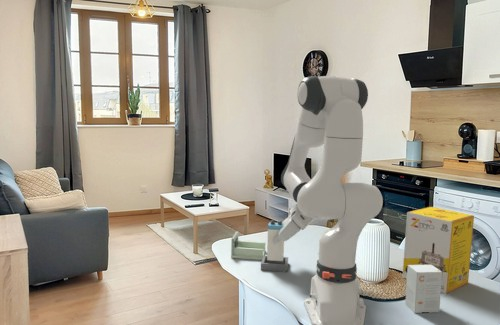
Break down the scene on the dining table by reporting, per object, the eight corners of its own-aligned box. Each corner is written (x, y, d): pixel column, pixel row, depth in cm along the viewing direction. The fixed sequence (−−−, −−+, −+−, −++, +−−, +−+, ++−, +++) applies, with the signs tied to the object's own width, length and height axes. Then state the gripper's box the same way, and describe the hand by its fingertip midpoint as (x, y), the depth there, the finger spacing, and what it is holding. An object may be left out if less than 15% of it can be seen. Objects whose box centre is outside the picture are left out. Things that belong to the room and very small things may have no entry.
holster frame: (287, 271, 153) (287, 265, 153) (260, 269, 155) (260, 263, 154) (288, 263, 162) (288, 257, 162) (263, 261, 164) (263, 255, 163)
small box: (428, 303, 130) (431, 264, 128) (439, 312, 124) (443, 271, 122) (404, 303, 129) (407, 264, 128) (414, 313, 123) (417, 272, 121)
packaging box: (402, 278, 150) (406, 211, 147) (425, 268, 160) (430, 206, 157) (445, 293, 137) (451, 221, 134) (468, 282, 147) (474, 215, 144)
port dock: (262, 260, 165) (262, 241, 164) (231, 257, 167) (231, 239, 166) (265, 250, 177) (265, 232, 176) (236, 248, 179) (236, 230, 178)
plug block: (282, 261, 154) (283, 223, 153) (267, 260, 155) (268, 222, 154) (283, 257, 159) (284, 220, 158) (268, 256, 160) (269, 219, 159)
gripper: (295, 205, 165) (271, 227, 167) (293, 215, 145) (265, 240, 147) (306, 216, 165) (281, 238, 167) (306, 228, 145) (277, 253, 147)
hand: (274, 239), depth 157 cm, fingers closed on plug block, 5 cm apart
